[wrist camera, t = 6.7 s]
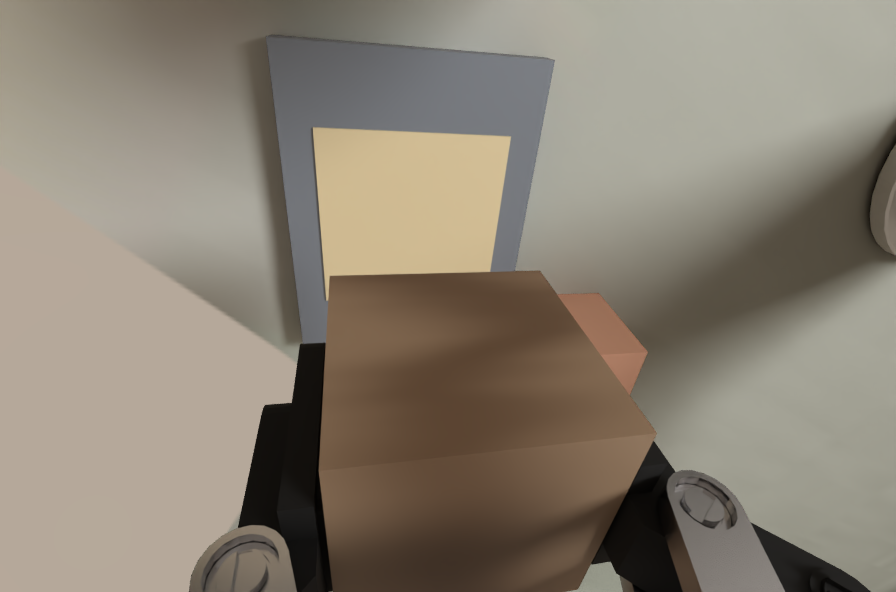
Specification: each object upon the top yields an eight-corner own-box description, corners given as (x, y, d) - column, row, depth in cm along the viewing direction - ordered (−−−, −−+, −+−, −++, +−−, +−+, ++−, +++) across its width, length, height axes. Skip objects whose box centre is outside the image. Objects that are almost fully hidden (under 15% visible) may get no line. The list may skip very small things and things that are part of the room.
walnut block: (539, 270, 11) (656, 433, 7) (507, 411, 14) (578, 589, 9) (329, 275, 10) (318, 471, 6) (340, 427, 13) (338, 633, 8)
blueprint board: (545, 57, 17) (555, 60, 16) (496, 327, 24) (502, 339, 23) (270, 34, 15) (265, 36, 14) (305, 334, 22) (303, 348, 21)
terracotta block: (598, 292, 24) (647, 352, 20) (576, 361, 27) (616, 426, 23) (510, 295, 23) (543, 358, 19) (497, 366, 26) (524, 435, 22)
